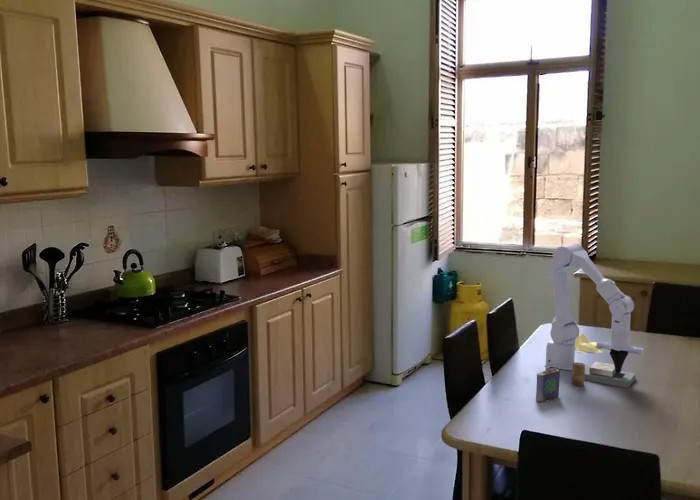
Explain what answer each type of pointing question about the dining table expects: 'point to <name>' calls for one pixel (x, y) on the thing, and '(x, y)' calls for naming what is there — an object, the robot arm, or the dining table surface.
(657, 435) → the dining table surface
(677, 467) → the dining table surface
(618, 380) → the grey flat frame
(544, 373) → the flask
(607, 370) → the sliding cover
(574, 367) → the pin
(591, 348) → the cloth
